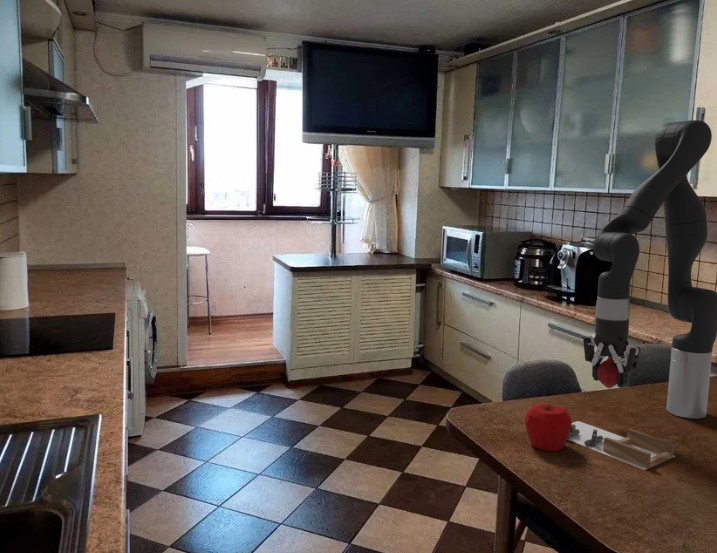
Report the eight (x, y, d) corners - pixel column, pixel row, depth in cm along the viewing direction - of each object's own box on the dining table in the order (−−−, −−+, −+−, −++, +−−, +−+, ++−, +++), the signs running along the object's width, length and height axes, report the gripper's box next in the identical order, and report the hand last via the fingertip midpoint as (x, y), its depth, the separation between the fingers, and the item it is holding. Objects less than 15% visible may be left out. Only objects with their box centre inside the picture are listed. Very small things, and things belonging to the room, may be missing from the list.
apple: (569, 445, 138) (572, 399, 136) (569, 462, 129) (573, 413, 127) (524, 439, 141) (527, 393, 139) (521, 455, 132) (524, 407, 130)
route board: (578, 425, 150) (579, 411, 149) (675, 461, 130) (676, 445, 130) (540, 438, 142) (541, 423, 141) (638, 478, 122) (639, 461, 122)
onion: (624, 392, 145) (625, 360, 144) (598, 391, 146) (600, 359, 145) (618, 384, 150) (620, 353, 149) (594, 383, 152) (595, 352, 150)
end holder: (629, 441, 138) (630, 428, 137) (673, 457, 129) (674, 443, 129) (603, 451, 132) (604, 438, 131) (647, 468, 124) (648, 454, 123)
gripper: (649, 318, 142) (645, 388, 144) (595, 308, 153) (592, 373, 156) (631, 323, 138) (627, 394, 140) (576, 312, 149) (574, 378, 152)
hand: (608, 382), depth 148 cm, fingers closed on onion, 6 cm apart
